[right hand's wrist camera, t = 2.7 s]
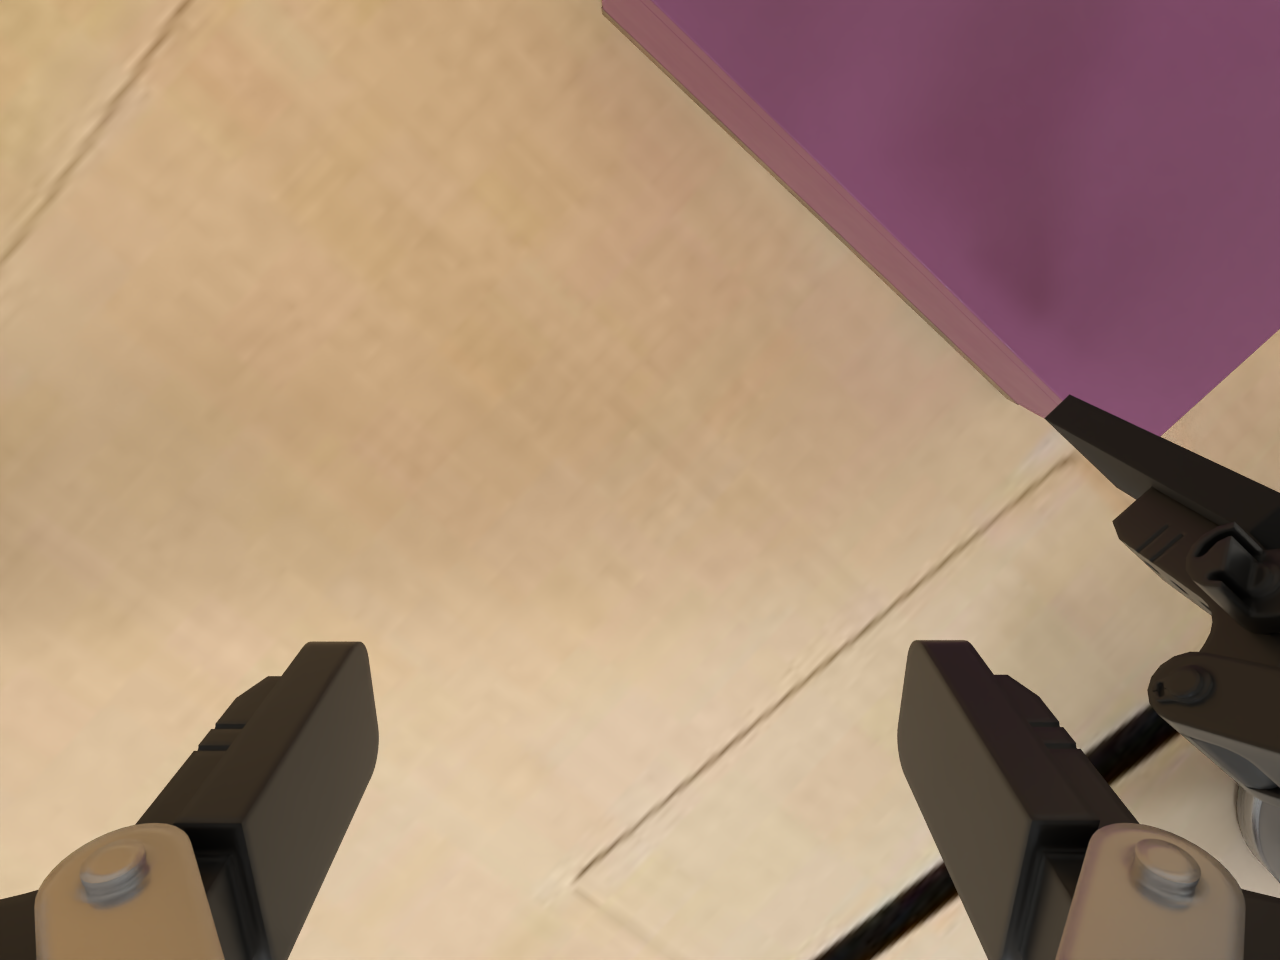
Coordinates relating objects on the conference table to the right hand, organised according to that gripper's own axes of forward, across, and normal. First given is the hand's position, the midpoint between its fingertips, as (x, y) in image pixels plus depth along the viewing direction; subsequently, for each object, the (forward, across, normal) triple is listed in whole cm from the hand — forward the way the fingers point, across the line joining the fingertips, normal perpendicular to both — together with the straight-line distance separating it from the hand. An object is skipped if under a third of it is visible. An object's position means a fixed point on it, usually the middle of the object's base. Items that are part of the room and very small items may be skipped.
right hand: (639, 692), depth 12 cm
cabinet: (+21, +10, +10) cm, 26 cm away
